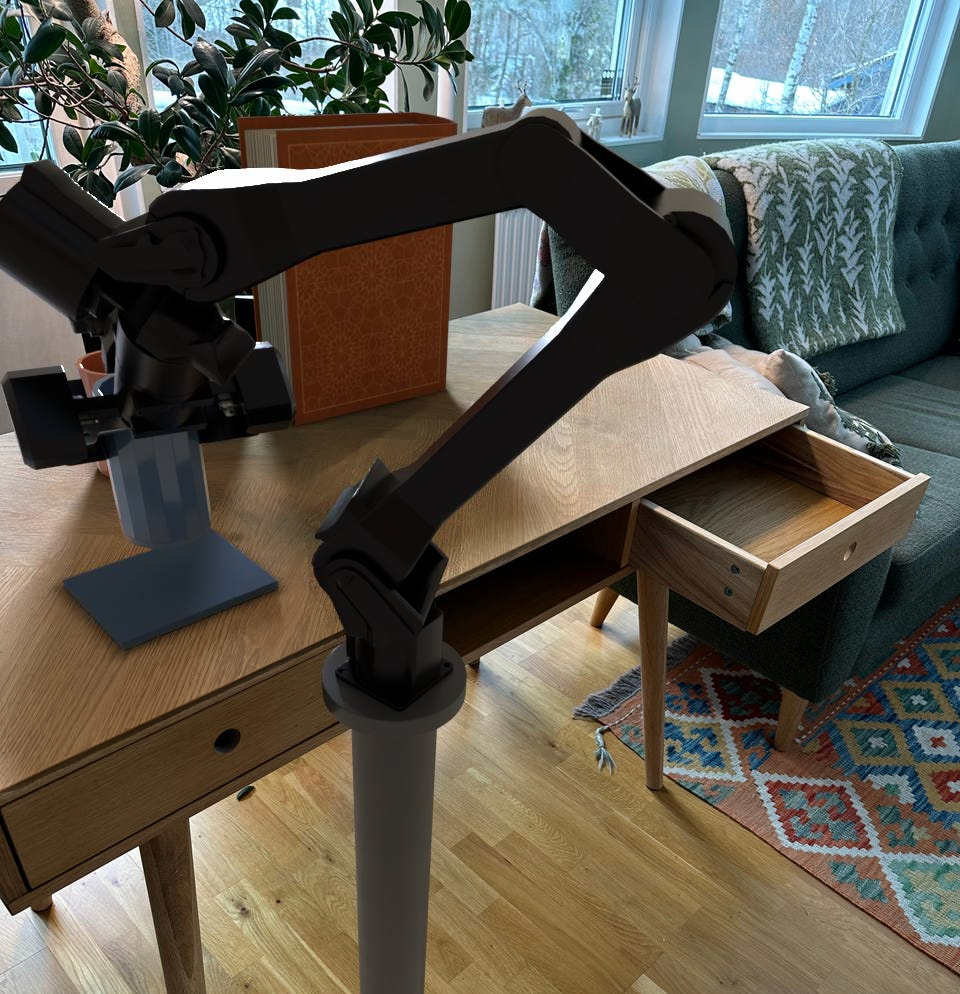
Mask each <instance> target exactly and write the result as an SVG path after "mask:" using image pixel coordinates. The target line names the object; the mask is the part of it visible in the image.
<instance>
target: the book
mask: <svg viewBox="0 0 960 994" xmlns="http://www.w3.org/2000/svg"><path fill="white" fill-rule="evenodd" d="M236 119H237V130H238V131H237V132H238V143H239V153H240V165H241V166H240V167H241V170H243V169H268V168H274V169H287V170H321V169H325V168H329V167H333V166H337V165H341V164H345V163H349V162H353V161H357V160H361V159H364V158H368V157H372V156H376V155H380V154H384V153H388V152H392V151H396V150H400V149H404V148H407V147H411V146H415V145H419V144H423V143H427V142H431V141H435V140H439V139H443V138H447V137H450V136H454V135H458V124H459V123H457V122H456V121H455V120H453V119H450V118H446V117H442V116H440V115H435V114H429V113H423V112H416V111H403V112H401V111H400V112H396V111H395V112H373V113H372V112H369V113H368V112H367V113H363V112H362V113H337V114H335V113H334V114H331V113H330V114H301V115H300V114H299V115H271V116H270V115H268V116H239V117H238V116H237V118H236ZM453 234H454V223H453V224H449V225H444V226H440V227H436V228H431V229H427V230H422V231H418V232H413V233H409V234H405V235H400V236H396V237H391V238H387V239H383V240H378V241H374V242H369V243H365V244H361V245H356V246H352V247H347V248H343V249H338V250H334V251H330V252H325V253H322V254H319V255H317V256H315V257H313V258H311V259H308V260H306V261H304V262H302V263H300V264H298V265H296V266H294V267H292V268H290V269H288V270H286V271H284V272H282V273H280V274H279V275H277V276H275V277H273V278H271V279H269V280H267V281H265V282H263V283H261V284H258V285H256V286H254V287H252V288H251V290H252V300H253V310H254V311H253V313H254V322H255V333H256V335H255V336H256V343H258V342H266V341H268V342H269V343H270V344H271V345H273V346H274V347H275V348H276V349H277V350H278V351H279V352H280V353H281V356H282V359H283V362H284V365H285V369H286V372H287V375H288V378H289V381H290V384H291V388H292V391H293V394H294V397H295V400H296V409H297V413H296V415H295V417H294V425H295V426H301V425H305V424H309V423H313V422H317V421H321V420H325V419H329V418H333V417H338V416H342V415H346V414H350V413H355V412H358V411H364V410H368V409H371V408H375V407H380V406H383V405H388V404H392V403H396V402H400V401H404V400H408V399H413V398H417V397H420V396H421V397H422V396H425V395H429V394H434V393H437V392H438V393H439V392H443V391H446V389H447V375H448V373H447V372H448V353H449V352H448V351H449V350H448V348H449V330H450V329H449V327H450V306H451V304H450V303H451V283H452V279H451V278H452V261H453V259H452V258H453V238H454V237H453Z"/></svg>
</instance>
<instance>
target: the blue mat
mask: <svg viewBox="0 0 960 994" xmlns="http://www.w3.org/2000/svg"><path fill="white" fill-rule="evenodd" d="M61 582H62V585H63V588H64V589H65V590H66V591H67V592H68V593H69V594H70V595H71V597H73V599H74V600H75V601H76V602H77V603H78V604H79V605H80V606H81V607H82V608H83V609H84V610H85V611H86V613H88V614H89V615H90V616H91V618H92V619H93V620H95V621H96V623H97V624H98V625H99V626H100V627H101V628H102V629H103V631H105V632H106V633H107V635H109V637H110V638H111V639H112V640H113V641H114V642H115V643H116V644H117V645H118V646H119V647H120V648H121V649H122V650H123V651H126V650H129V649H132V648H133V647H136V646H138V645H141V644H144V643H146V642H148V641H151V640H153V639H156V638H159V637H162V636H164V635H166V634H168V633H171V632H173V631H176V630H178V629H181V628H184V627H185V626H188V625H190V624H191V625H192V624H193V623H195V622H199V621H200V620H203V619H205V618H209V617H211V616H213V615H215V614H218V613H220V612H223V611H225V610H228V609H231V608H233V607H235V606H238V605H241V604H243V603H245V602H248V601H250V600H252V599H255V598H258V597H260V596H263V595H265V594H268V593H269V592H273V591H275V590H277V589H279V580H277V578H275V577H274V576H272V575H271V574H270V573H268V572H267V571H266V570H265V569H264V568H262V567H261V566H259V564H257V563H256V562H255V561H253V560H252V559H251V558H249V557H248V556H247V555H246V554H245V553H243V552H242V551H241V550H240V549H239V548H237V547H236V546H235V545H233V544H232V543H230V542H229V541H228V540H227V539H226V538H224V537H223V536H222V535H220V533H219V532H217V531H215V530H214V529H213V528H211V529H210V531H209V532H208V533H207V534H206V535H205V536H204V537H203V538H201V539H200V540H198V541H196V542H194V543H191V544H189V545H186V546H182V547H177V548H170V549H149V550H146V551H143V552H140V553H137V554H134V555H132V556H129V557H125V558H123V559H119V560H117V561H114V562H111V563H108V564H105V565H102V566H99V567H96V568H93V569H91V570H88V571H84V572H81V573H79V574H76V575H73V576H70V577H67V578H64V579H62V581H61Z"/></svg>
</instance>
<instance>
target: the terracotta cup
mask: <svg viewBox="0 0 960 994" xmlns="http://www.w3.org/2000/svg"><path fill="white" fill-rule="evenodd" d="M101 355H102V349H100V350H96V351H92V352H88V353H86V354H84V355H82V356H80V357H78V358H77V359H76V361H75V363H74V366H75V371H76V377H77V379H82V381H83V384H84V387H85V390H86V394H87V397H93V394H92V388H93V386H94V384H95V382H97V381H98V380H100V379H102V378H103V377H105V376H108V375H111V374H106V371H105V367H104V364H103V361H102V358H101ZM113 374H114V373H113ZM96 423H98V420H96ZM95 463H96V465H97V469H98V471H99V472H100V474H101V475H103V476H105V477H107V478H110V475H109V470H108V465H107V461H106V460H105V461H99V462H95Z"/></svg>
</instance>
